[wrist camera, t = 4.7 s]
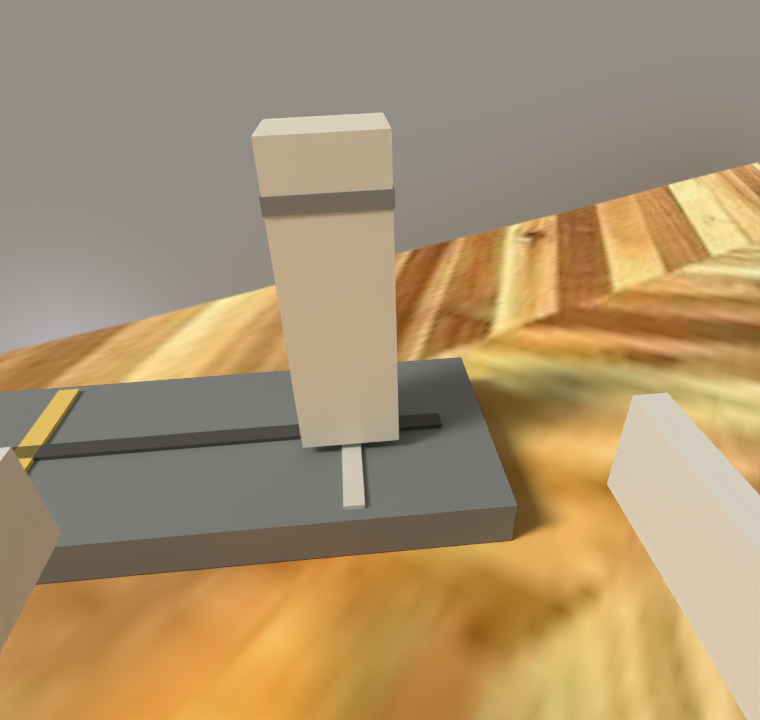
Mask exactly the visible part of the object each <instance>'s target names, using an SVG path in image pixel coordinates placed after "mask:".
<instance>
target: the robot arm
mask: <svg viewBox="0 0 760 720" xmlns="http://www.w3.org/2000/svg"><path fill="white" fill-rule="evenodd" d="M607 485H608V487H609V488H610V490H611V492H612V493H613V495H614V497H615V498H616V500H617V502H618V503H619V505H620V507H621V509H622V510H623V512H624V514H625V515H626V517H627V519H628V520H629V522H630V524H631V525H632V527H633V529H634V530H635V532H636V534H637V535H638V537H639V539H640V540H641V542H642V544H643V546H644V547H645V549H646V551H647V552H648V554H649V556H650V557H651V559H652V561H653V562H654V564H655V566H656V567H657V569H658V571H659V572H660V574H661V576H662V577H663V579H664V581H665V583H666V584H667V586H668V588H669V589H670V591H671V593H672V594H673V596H674V598H675V599H676V601H677V603H678V604H679V606H680V608H681V609H682V611H683V613H684V614H685V616H686V618H687V619H688V621H689V623H690V625H691V626H692V628H693V630H694V631H695V633H696V635H697V636H698V638H699V640H700V641H701V643H702V645H703V646H704V648H705V650H706V651H707V653H708V655H709V656H710V658H711V660H712V662H713V663H714V665H715V667H716V668H717V670H718V672H719V673H720V675H721V677H722V678H723V680H724V682H725V683H726V685H727V687H728V688H729V690H730V692H731V693H732V695H733V697H734V699H735V700H736V702H737V704H738V705H739V707H740V709H741V710H742V712H743V714H744V715H745V717H746V719H747V720H760V495H759V494H758V493H757V492H756V491H755V490H754V488H753V487H752V486H751V485H750V484H749V483H748V482H747V481H746V480H745V478H744V477H743V476H742V475H741V474H740V473H739V472H738V471H737V470H736V468H735V467H734V466H733V465H732V464H731V463H730V462H729V461H728V460H727V458H726V457H725V456H724V455H723V454H722V453H721V452H720V451H719V450H718V448H717V447H716V446H715V445H714V444H713V443H712V442H711V441H710V440H709V438H708V437H707V436H706V435H705V434H704V433H703V432H702V431H701V430H700V429H699V427H698V426H697V425H696V424H695V423H694V422H693V421H692V420H691V419H690V417H689V416H688V415H687V414H686V413H685V412H684V411H683V410H682V409H681V407H680V406H679V405H678V404H677V403H676V402H675V401H674V400H673V399H672V397H671V396H670V395H669V394H668V393H656V394H644V395H633V397H632V400H631V404H630V407H629V411H628V414H627V417H626V421H625V424H624V428H623V431H622V434H621V438H620V441H619V445H618V448H617V451H616V455H615V458H614V462H613V465H612V469H611V472H610V475H609V479H608V482H607ZM61 534H62V533H61V531H60V529H59V527H58V526H57V524H56V522H55V521H54V519H53V517H52V516H51V514H50V512H49V510H48V509H47V507H46V505H45V504H44V502H43V500H42V499H41V497H40V495H39V494H38V492H37V490H36V488H35V487H34V485H33V483H32V482H31V480H30V478H29V477H28V475H27V473H26V471H25V470H24V468H23V466H22V465H21V463H20V461H19V460H18V458H17V456H16V454H15V453H14V451H13V449H12V448H11V447H3V448H0V652H1V650H2V648H3V646H4V644H5V642H6V641H7V639H8V637H9V635H10V633H11V631H12V629H13V627H14V625H15V623H16V621H17V619H18V617H19V615H20V614H21V612H22V610H23V608H24V606H25V604H26V602H27V600H28V598H29V596H30V594H31V592H32V590H33V588H34V587H35V585H36V583H37V581H38V579H39V577H40V575H41V573H42V571H43V569H44V567H45V565H46V563H47V561H48V560H49V558H50V556H51V554H52V552H53V550H54V548H55V546H56V544H57V542H58V540H59V538H60V536H61Z"/></svg>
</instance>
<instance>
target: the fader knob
mask: <svg viewBox="0 0 760 720" xmlns="http://www.w3.org/2000/svg"><path fill="white" fill-rule="evenodd" d="M251 138H252V144H253V151H254V156H255V162H256V169H257V175H258V180H259V187H260V193H261V194H260V197H259V199H260V205H261V211H262V216H263V217H265V223H266V229H267V235H268V241H269V247H270V253H271V259H272V266H273V272H274V278H275V284H276V290H277V296H278V302H279V308H280V314H281V320H282V326H283V332H284V338H285V344H286V350H287V356H288V362H289V368H290V374H291V381H292V387H293V393H294V399H295V405H296V411H297V417H298V423H299V429H300V435H301V441H302V447H303V448H308V447H320V446H332V445H344V444H356V443H368V442H380V441H393V440H399V418H398V377H397V336H396V295H395V255H394V216H393V209H395V189H394V186H393V176H392V175H393V173H392V133H391V127H390V125H389V123H388V121H387V120H386V118H385V116H384V114H383V113H368V114H350V115H331V116H314V117H294V118H278V119H263V120H262V121H261V123H260V124H259V126H258V127H257V129H256V130H255V132H254V133H253V135H252V136H251Z"/></svg>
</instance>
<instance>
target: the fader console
mask: <svg viewBox="0 0 760 720" xmlns="http://www.w3.org/2000/svg"><path fill="white" fill-rule="evenodd" d="M397 377H398V418H399V440H393V441H380V442H368V443H356V444H344V445H332V446H320V447H308V448H303V447H302V441H301V435H300V429H299V423H298V417H297V411H296V405H295V399H294V393H293V387H292V381H291V374H290V370H288V371H275V372H262V373H249V374H236V375H223V376H209V377H196V378H183V379H170V380H157V381H144V382H131V383H118V384H104V385H91V386H78V387H65V388H52V389H39V390H26V391H13V392H0V448H3V447H11V448H12V449H13V451H14V453H15V454H16V456H17V458H18V460H19V461H20V463H21V465H22V466H23V468H24V470H25V471H26V473H27V475H28V477H29V478H30V480H31V482H32V483H33V485H34V487H35V488H36V490H37V492H38V494H39V495H40V497H41V499H42V500H43V502H44V504H45V505H46V507H47V509H48V510H49V512H50V514H51V516H52V517H53V519H54V521H55V522H56V524H57V526H58V527H59V529H60V531H61V533H62V534H61V536H60V538H59V540H58V542H57V544H56V546H55V548H54V550H53V552H52V554H51V556H50V558H49V560H48V561H47V563H46V565H45V567H44V569H43V571H42V573H41V575H40V577H39V579H38V581H37V583H36V584H43V583H54V582H65V581H76V580H86V579H97V578H108V577H119V576H130V575H141V574H152V573H162V572H173V571H184V570H195V569H206V568H217V567H227V566H238V565H249V564H260V563H271V562H282V561H292V560H303V559H314V558H325V557H336V556H347V555H358V554H368V553H379V552H390V551H401V550H412V549H423V548H433V547H444V546H455V545H466V544H477V543H488V542H499V541H509V540H512V537H513V531H514V525H515V518H516V512H517V506H518V505H517V503H516V500H515V498H514V495H513V492H512V490H511V487H510V485H509V482H508V479H507V477H506V474H505V471H504V469H503V466H502V464H501V461H500V458H499V456H498V453H497V450H496V448H495V445H494V443H493V440H492V437H491V435H490V432H489V429H488V427H487V424H486V422H485V419H484V416H483V414H482V411H481V408H480V406H479V403H478V401H477V398H476V395H475V393H474V390H473V388H472V385H471V382H470V380H469V377H468V374H467V372H466V369H465V367H464V364H463V361H462V359H461V357H459V358H446V359H433V360H420V361H406V362H397Z"/></svg>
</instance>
